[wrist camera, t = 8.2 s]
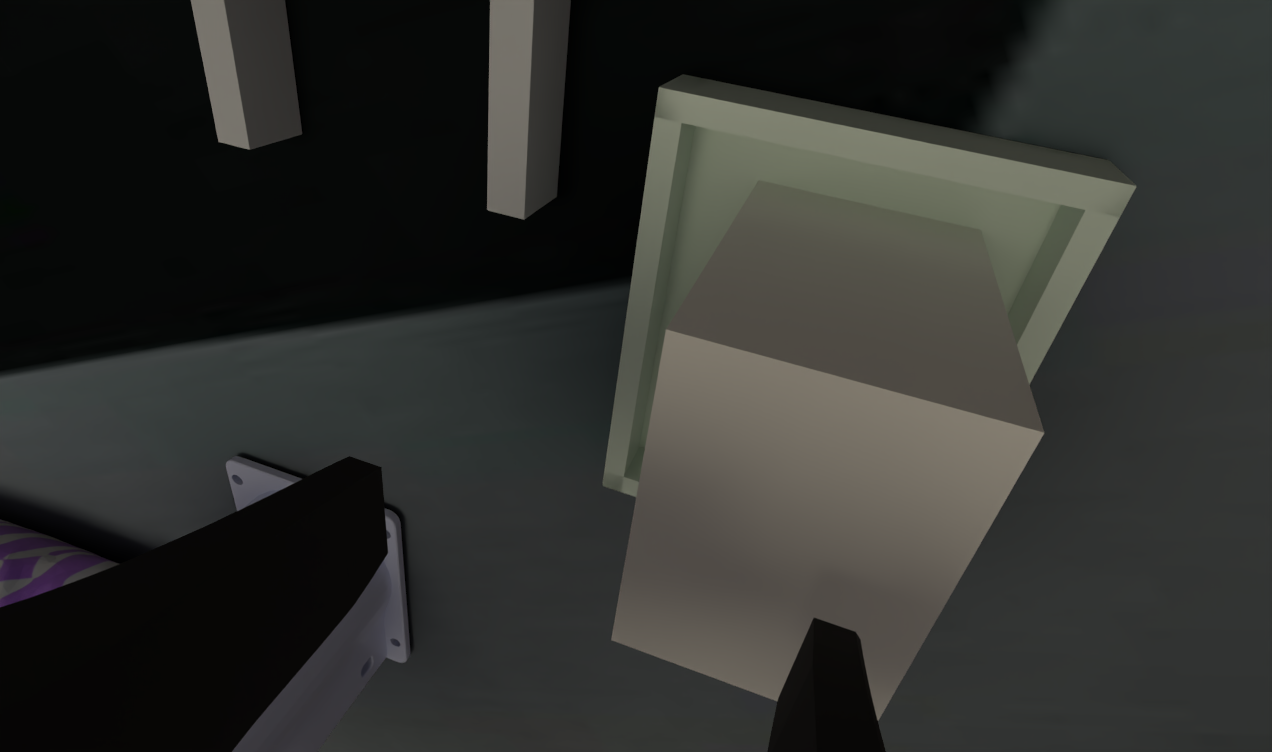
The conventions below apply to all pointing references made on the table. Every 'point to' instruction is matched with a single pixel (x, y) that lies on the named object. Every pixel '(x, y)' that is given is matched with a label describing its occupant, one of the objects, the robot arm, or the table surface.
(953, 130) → the tray
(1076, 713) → the table surface
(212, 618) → the robot arm
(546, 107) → the dock
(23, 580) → the pencil case
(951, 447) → the taupe rectangular block
